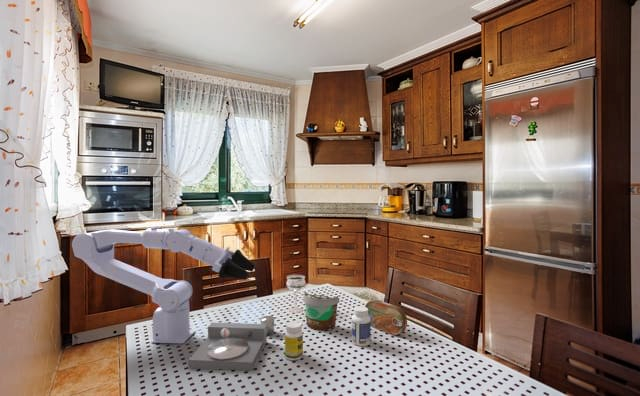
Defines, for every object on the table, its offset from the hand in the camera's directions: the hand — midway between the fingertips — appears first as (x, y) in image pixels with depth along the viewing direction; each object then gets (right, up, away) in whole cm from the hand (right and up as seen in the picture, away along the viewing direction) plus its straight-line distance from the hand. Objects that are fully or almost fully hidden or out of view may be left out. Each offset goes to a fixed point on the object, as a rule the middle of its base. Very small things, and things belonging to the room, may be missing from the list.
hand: (250, 272), depth 95 cm
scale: (-4, -20, -8) cm, 22 cm away
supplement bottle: (+13, -20, -10) cm, 26 cm away
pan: (-4, -18, -10) cm, 21 cm away
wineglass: (+12, -19, +23) cm, 32 cm away
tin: (+41, -20, +7) cm, 45 cm away
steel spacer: (+4, -19, +4) cm, 20 cm away
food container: (+20, -20, +8) cm, 29 cm away
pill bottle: (+32, -20, -2) cm, 38 cm away
